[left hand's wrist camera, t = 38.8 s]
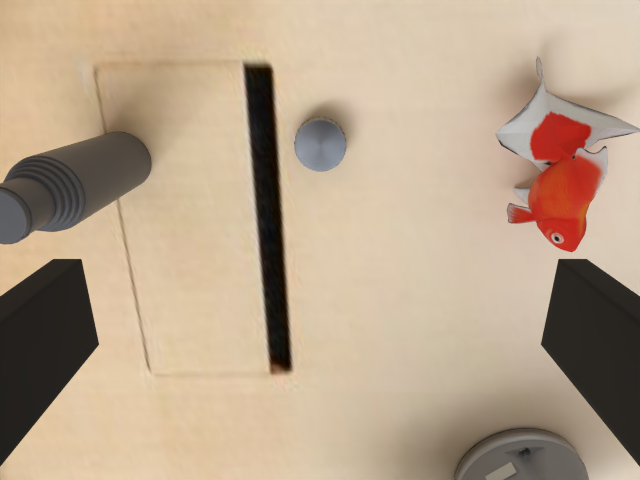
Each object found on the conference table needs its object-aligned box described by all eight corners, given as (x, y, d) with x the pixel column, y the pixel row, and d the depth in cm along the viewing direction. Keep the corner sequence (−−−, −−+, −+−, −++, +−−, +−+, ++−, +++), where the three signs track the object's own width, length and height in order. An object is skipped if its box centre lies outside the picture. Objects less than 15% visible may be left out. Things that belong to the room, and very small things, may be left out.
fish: (455, 248, 39) (552, 242, 30) (457, 76, 40) (551, 18, 31) (546, 255, 43) (657, 251, 34) (546, 97, 44) (653, 52, 35)
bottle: (82, 151, 41) (-71, 202, 25) (126, 120, 40) (-5, 153, 24) (120, 197, 42) (-2, 274, 26) (162, 169, 41) (63, 231, 25)
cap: (342, 168, 41) (344, 173, 39) (294, 164, 41) (292, 170, 39) (347, 118, 40) (349, 121, 38) (296, 114, 40) (295, 117, 37)
